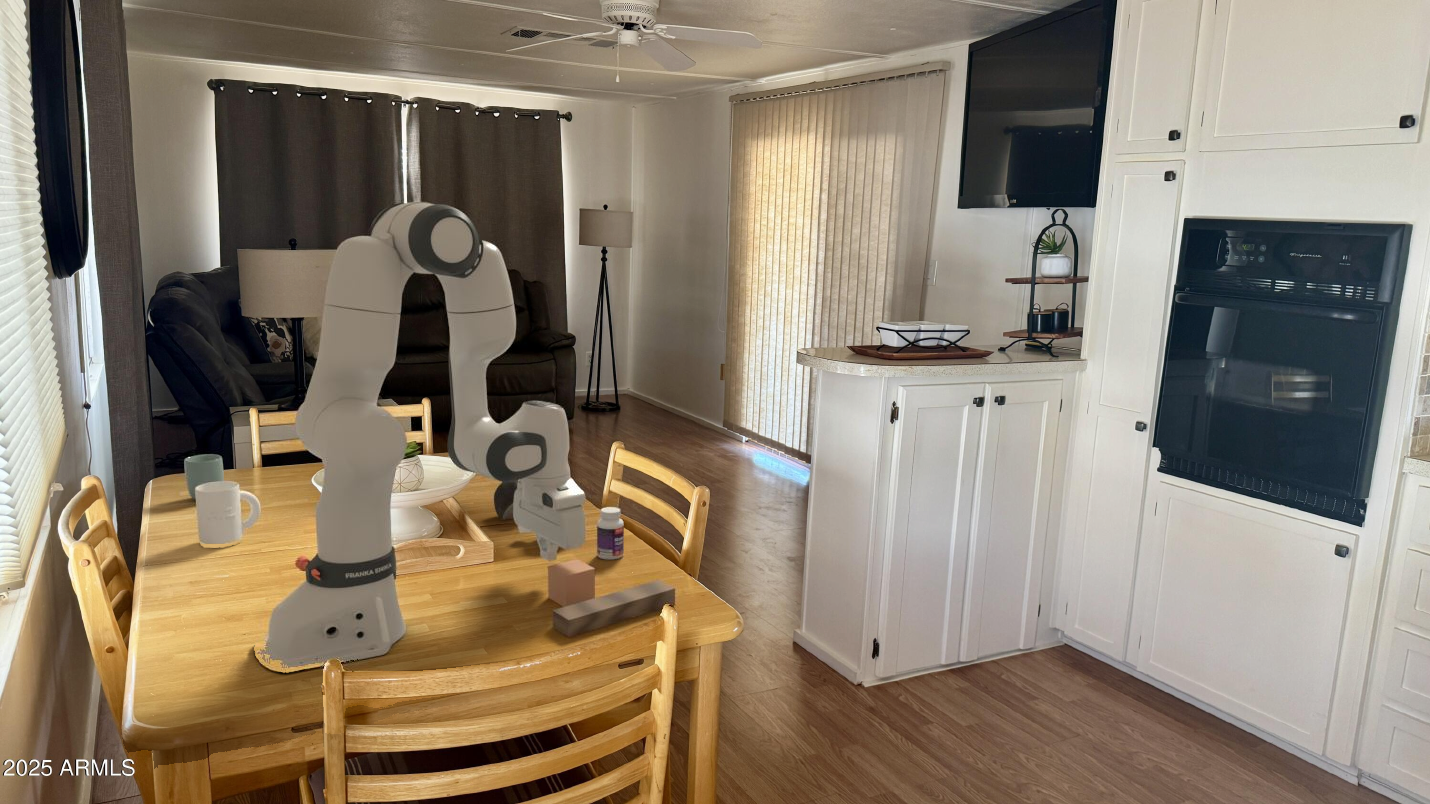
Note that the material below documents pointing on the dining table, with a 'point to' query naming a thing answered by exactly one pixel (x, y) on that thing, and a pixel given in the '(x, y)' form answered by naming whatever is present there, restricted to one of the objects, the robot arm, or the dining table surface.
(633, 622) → the dining table surface
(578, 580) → the block
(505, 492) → the stone
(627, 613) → the board
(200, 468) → the cup
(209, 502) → the mug
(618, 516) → the pill bottle
